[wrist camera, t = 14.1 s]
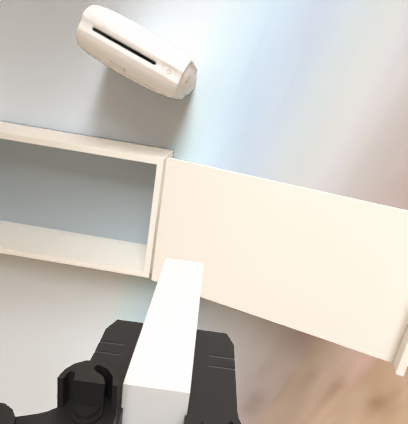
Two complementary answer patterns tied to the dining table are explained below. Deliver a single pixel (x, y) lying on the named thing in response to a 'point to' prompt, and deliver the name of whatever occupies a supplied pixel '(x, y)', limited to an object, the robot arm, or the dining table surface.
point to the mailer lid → (291, 255)
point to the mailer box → (80, 198)
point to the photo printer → (136, 52)
